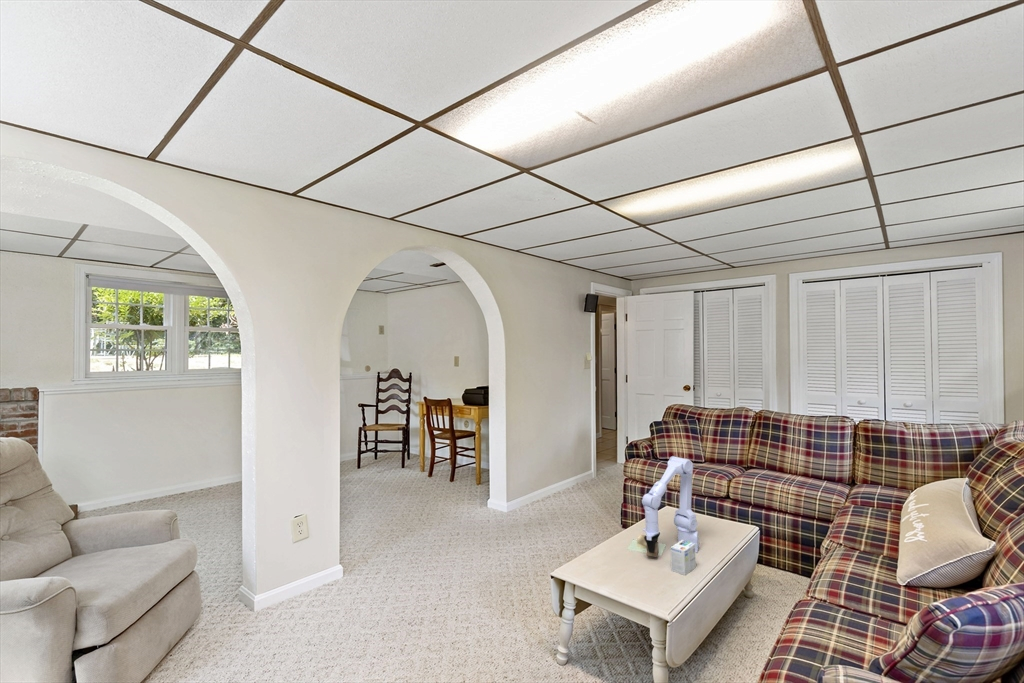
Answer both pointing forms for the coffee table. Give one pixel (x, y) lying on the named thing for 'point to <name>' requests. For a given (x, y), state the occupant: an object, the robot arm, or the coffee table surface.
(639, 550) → the plate
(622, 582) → the coffee table surface
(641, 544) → the maple base brick
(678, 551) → the light bulb box
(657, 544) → the walnut brick
